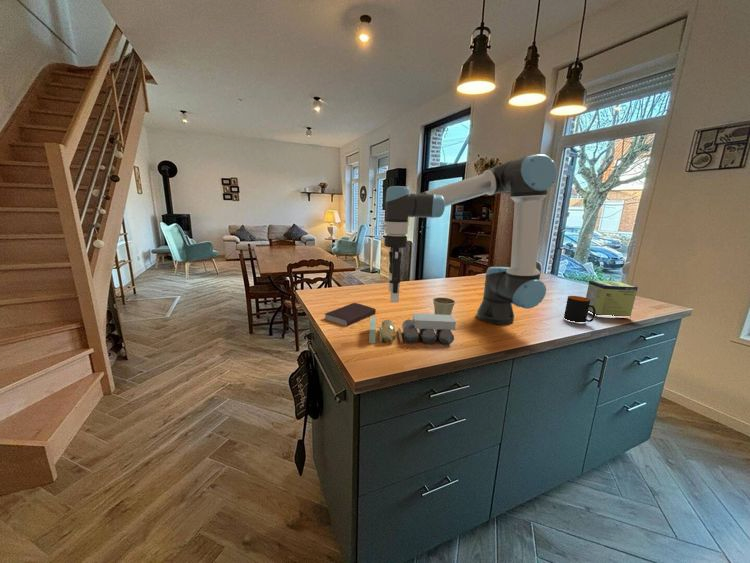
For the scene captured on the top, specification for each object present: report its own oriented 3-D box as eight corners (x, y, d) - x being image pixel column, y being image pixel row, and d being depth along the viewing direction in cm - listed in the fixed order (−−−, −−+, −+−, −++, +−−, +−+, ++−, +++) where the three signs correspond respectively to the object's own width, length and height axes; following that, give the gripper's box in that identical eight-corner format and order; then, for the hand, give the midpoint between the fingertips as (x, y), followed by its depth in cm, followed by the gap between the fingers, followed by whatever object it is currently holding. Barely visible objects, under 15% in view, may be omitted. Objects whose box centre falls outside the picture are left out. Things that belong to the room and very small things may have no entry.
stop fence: (375, 329, 115) (375, 317, 113) (375, 343, 103) (375, 329, 102) (369, 329, 115) (370, 317, 113) (369, 343, 103) (369, 329, 102)
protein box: (630, 319, 139) (638, 286, 136) (597, 317, 139) (604, 285, 136) (613, 312, 150) (620, 281, 146) (582, 310, 150) (588, 280, 146)
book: (375, 315, 132) (376, 308, 131) (347, 327, 117) (347, 319, 116) (353, 309, 139) (353, 302, 138) (323, 320, 124) (323, 312, 123)
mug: (585, 328, 126) (590, 304, 123) (559, 318, 137) (563, 296, 134) (598, 326, 129) (603, 302, 126) (572, 316, 140) (576, 295, 137)
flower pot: (426, 319, 128) (428, 300, 126) (438, 314, 135) (440, 296, 133) (446, 325, 122) (448, 305, 120) (457, 320, 129) (459, 300, 127)
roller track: (446, 333, 114) (447, 320, 113) (453, 345, 103) (455, 332, 102) (379, 330, 114) (379, 318, 113) (379, 342, 103) (380, 329, 102)
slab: (450, 322, 111) (450, 315, 110) (455, 330, 104) (455, 321, 104) (412, 321, 111) (412, 313, 110) (414, 328, 104) (415, 320, 104)
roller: (384, 333, 114) (379, 322, 113) (396, 328, 113) (390, 317, 112) (385, 345, 104) (379, 333, 103) (397, 339, 104) (392, 327, 103)
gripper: (383, 231, 112) (381, 286, 117) (385, 238, 88) (383, 307, 93) (403, 232, 112) (401, 287, 117) (411, 238, 88) (407, 307, 93)
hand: (393, 296), depth 105 cm, fingers open, 13 cm apart
